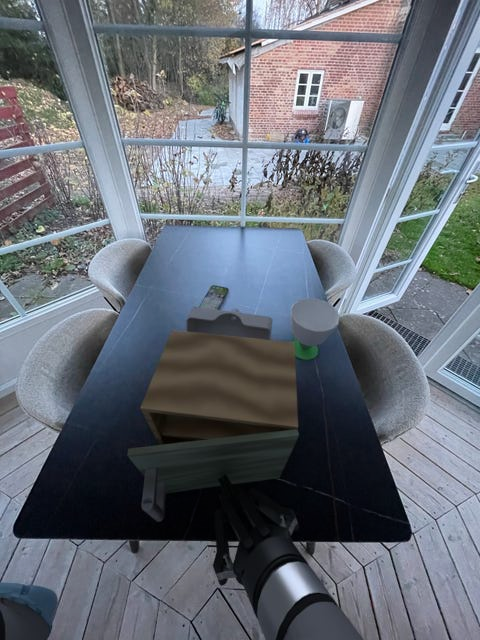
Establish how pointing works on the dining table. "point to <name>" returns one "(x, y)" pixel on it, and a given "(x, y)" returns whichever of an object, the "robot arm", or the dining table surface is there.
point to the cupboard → (221, 388)
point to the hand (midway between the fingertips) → (224, 483)
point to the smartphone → (214, 297)
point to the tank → (228, 323)
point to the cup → (312, 325)
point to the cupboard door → (209, 464)
